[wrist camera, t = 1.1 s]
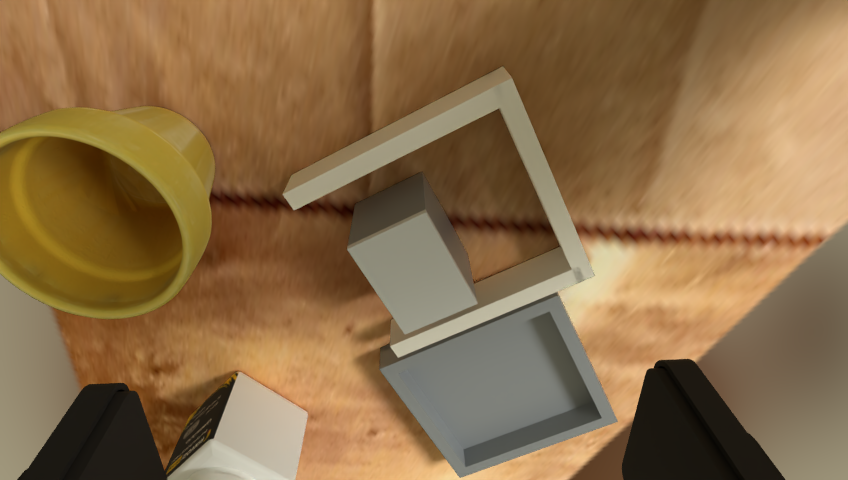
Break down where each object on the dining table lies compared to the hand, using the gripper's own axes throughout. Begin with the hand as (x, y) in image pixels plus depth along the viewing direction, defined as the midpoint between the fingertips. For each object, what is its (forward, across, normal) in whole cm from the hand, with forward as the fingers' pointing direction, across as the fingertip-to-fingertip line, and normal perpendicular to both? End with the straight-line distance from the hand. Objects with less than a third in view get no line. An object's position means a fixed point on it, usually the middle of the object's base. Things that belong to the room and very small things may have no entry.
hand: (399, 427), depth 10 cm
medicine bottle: (+26, +12, +26) cm, 39 cm away
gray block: (+25, -1, +9) cm, 27 cm away
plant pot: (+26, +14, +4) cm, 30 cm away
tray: (+25, -8, +22) cm, 35 cm away
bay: (+25, -3, +8) cm, 27 cm away
